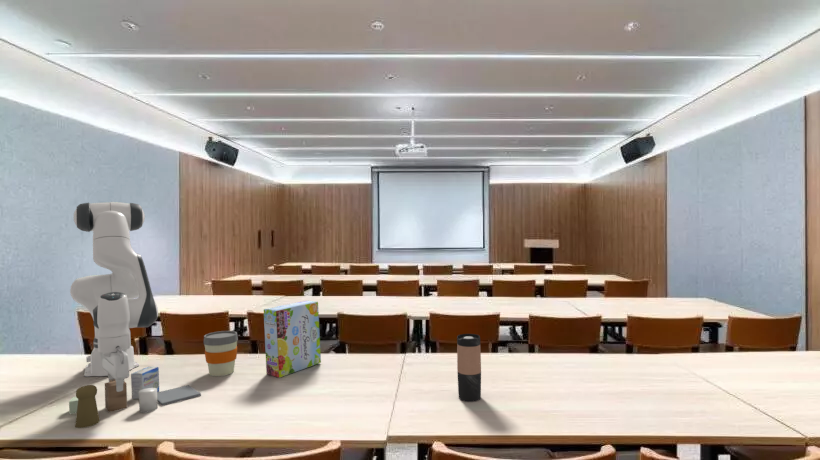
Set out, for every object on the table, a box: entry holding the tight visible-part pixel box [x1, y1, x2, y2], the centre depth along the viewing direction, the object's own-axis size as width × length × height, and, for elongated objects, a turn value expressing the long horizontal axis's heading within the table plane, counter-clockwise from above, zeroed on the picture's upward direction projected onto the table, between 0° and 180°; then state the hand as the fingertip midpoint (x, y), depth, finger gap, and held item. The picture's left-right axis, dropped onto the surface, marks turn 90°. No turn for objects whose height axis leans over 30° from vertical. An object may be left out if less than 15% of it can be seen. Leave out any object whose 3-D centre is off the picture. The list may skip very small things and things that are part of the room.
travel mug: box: [456, 333, 482, 403], centre depth 152 cm, size 8×8×20 cm
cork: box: [74, 384, 101, 429], centre depth 138 cm, size 6×6×11 cm
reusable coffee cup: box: [203, 330, 239, 377], centre depth 184 cm, size 13×13×15 cm
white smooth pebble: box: [138, 388, 158, 414], centre depth 148 cm, size 5×5×6 cm
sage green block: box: [68, 396, 78, 415], centre depth 148 cm, size 4×6×4 cm, turn 114°
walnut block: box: [104, 380, 128, 413], centre depth 149 cm, size 5×5×8 cm
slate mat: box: [157, 384, 202, 406], centre depth 159 cm, size 12×12×1 cm
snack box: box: [263, 300, 322, 379], centre depth 186 cm, size 22×9×26 cm, turn 144°
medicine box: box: [130, 366, 160, 400], centre depth 161 cm, size 8×4×9 cm, turn 168°
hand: (115, 387), depth 149 cm, fingers open, 8 cm apart
